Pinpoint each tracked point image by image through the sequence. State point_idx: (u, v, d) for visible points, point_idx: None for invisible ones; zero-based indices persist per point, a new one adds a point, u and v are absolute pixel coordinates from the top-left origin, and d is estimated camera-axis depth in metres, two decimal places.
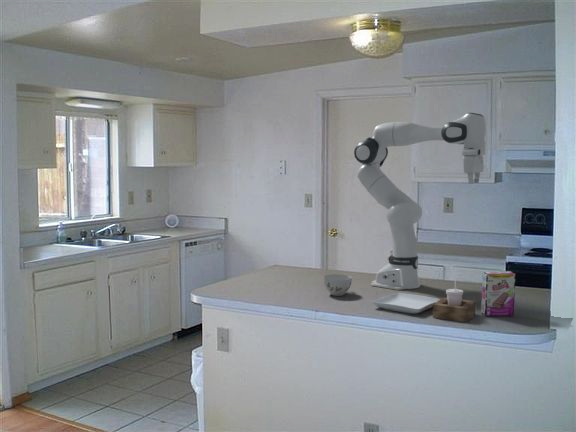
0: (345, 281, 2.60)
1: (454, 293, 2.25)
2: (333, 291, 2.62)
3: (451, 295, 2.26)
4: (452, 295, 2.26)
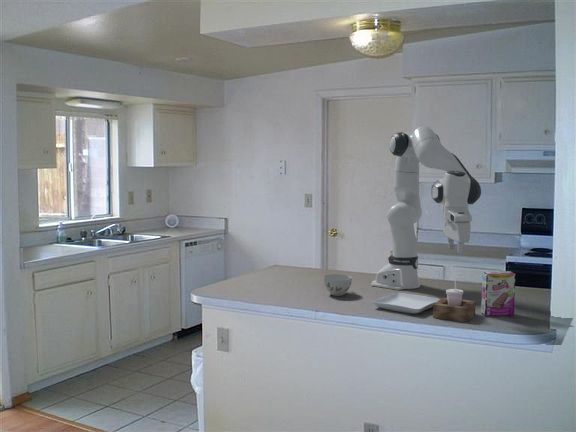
0: (345, 281, 2.60)
1: (454, 293, 2.25)
2: (333, 291, 2.62)
3: (451, 295, 2.26)
4: (452, 295, 2.26)
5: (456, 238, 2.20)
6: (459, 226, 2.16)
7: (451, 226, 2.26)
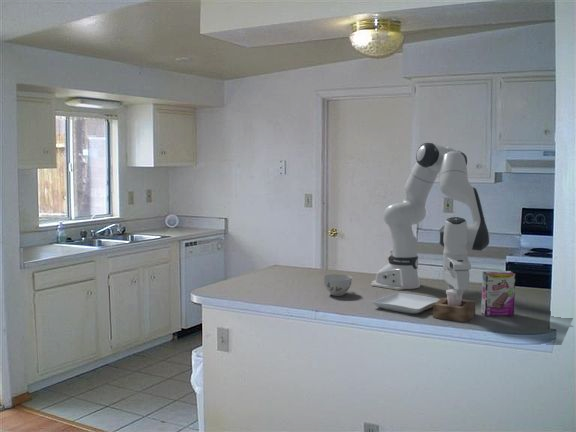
0: (345, 281, 2.60)
1: (454, 293, 2.25)
2: (333, 291, 2.62)
3: (451, 295, 2.26)
4: (452, 295, 2.26)
5: (455, 285, 2.21)
6: (458, 274, 2.18)
7: (450, 272, 2.28)
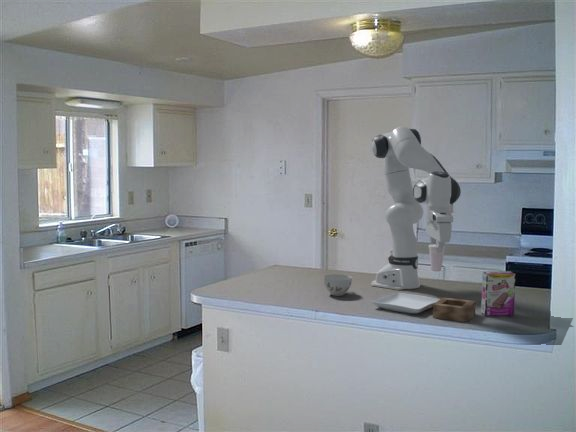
0: (345, 281, 2.60)
1: (436, 247, 2.29)
2: (333, 291, 2.62)
3: (433, 249, 2.30)
4: (434, 249, 2.30)
5: (437, 238, 2.25)
6: (440, 226, 2.22)
7: (433, 226, 2.31)
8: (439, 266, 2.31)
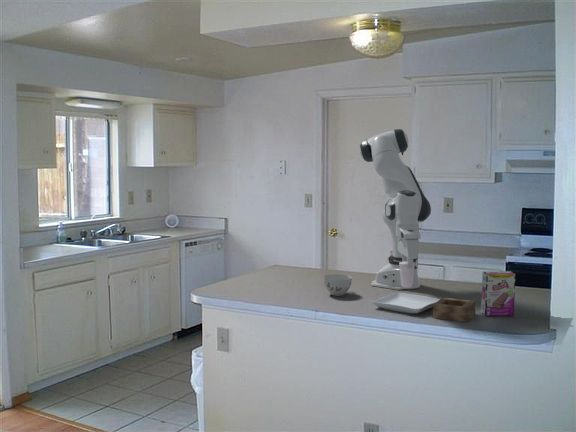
0: (345, 281, 2.60)
1: (406, 265, 2.38)
2: (333, 291, 2.62)
3: (403, 267, 2.39)
4: (404, 267, 2.39)
5: (406, 254, 2.34)
6: (408, 243, 2.31)
7: (403, 242, 2.40)
8: (409, 282, 2.40)
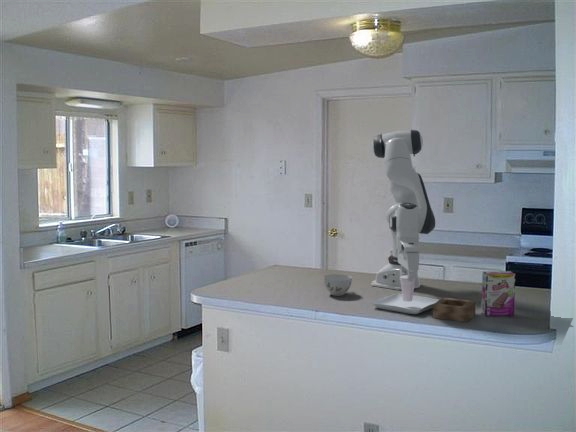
0: (345, 281, 2.60)
1: (406, 279, 2.39)
2: (333, 291, 2.62)
3: (404, 281, 2.39)
4: (405, 281, 2.39)
5: (406, 267, 2.35)
6: (408, 256, 2.31)
7: (403, 255, 2.41)
8: (409, 296, 2.40)
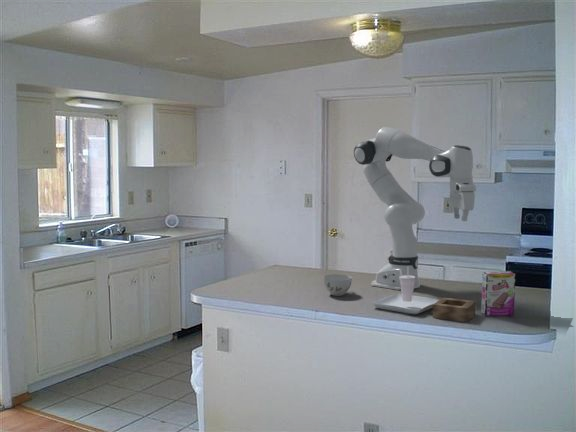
0: (345, 281, 2.60)
1: (406, 279, 2.39)
2: (333, 291, 2.62)
3: (403, 281, 2.40)
4: (404, 281, 2.39)
5: (461, 206, 2.39)
6: (464, 195, 2.36)
7: (456, 196, 2.46)
8: (409, 296, 2.40)
